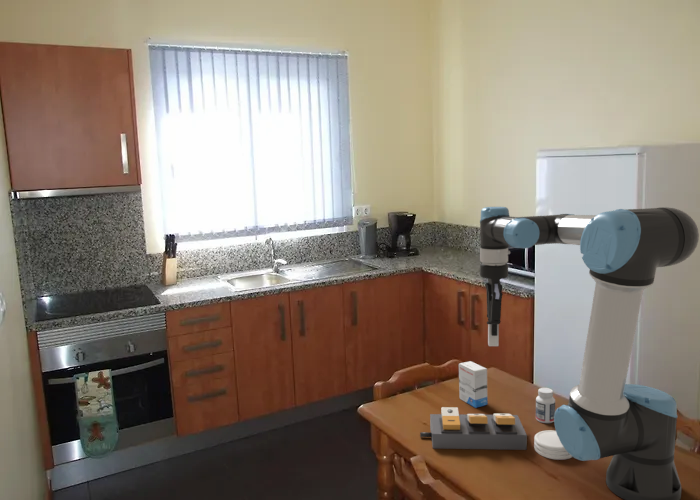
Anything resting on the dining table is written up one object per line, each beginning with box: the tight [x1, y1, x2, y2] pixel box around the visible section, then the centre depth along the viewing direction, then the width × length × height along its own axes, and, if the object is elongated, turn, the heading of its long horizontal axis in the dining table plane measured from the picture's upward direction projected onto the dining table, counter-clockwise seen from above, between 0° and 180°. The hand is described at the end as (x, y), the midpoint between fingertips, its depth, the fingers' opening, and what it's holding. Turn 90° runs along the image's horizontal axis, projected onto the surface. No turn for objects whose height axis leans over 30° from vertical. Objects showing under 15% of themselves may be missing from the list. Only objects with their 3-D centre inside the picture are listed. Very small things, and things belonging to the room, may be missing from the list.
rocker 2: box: [466, 413, 488, 424], centre depth 154 cm, size 7×4×2 cm, turn 175°
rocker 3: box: [492, 413, 515, 425], centre depth 154 cm, size 7×4×2 cm, turn 175°
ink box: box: [458, 360, 488, 409], centre depth 179 cm, size 9×5×12 cm, turn 25°
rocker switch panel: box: [419, 413, 528, 451], centre depth 156 cm, size 12×27×5 cm, turn 85°
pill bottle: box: [535, 387, 556, 424], centre depth 166 cm, size 5×5×9 cm
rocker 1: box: [440, 406, 460, 430], centre depth 155 cm, size 7×4×2 cm, turn 175°
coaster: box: [533, 429, 574, 461], centre depth 149 cm, size 10×10×4 cm
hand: (493, 345), depth 164 cm, fingers closed
